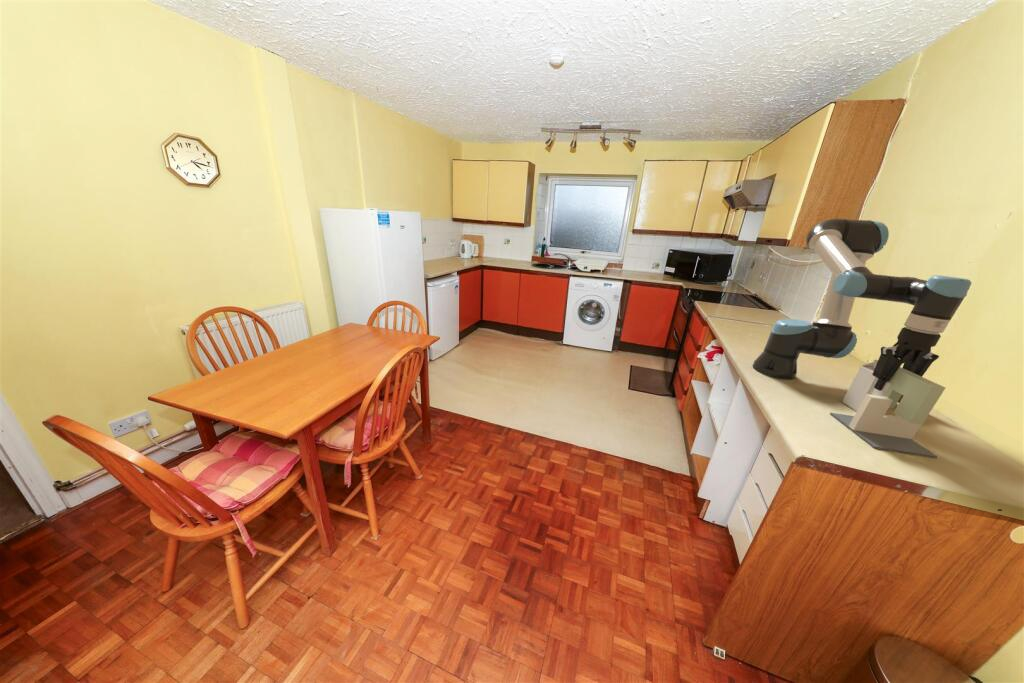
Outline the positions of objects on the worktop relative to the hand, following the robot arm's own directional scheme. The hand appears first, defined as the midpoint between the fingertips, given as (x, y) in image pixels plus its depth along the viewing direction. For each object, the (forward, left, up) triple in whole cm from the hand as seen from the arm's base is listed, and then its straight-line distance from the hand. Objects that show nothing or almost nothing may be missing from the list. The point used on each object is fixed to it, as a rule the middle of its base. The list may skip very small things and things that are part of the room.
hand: (882, 399), depth 103 cm
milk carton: (-13, +7, -10) cm, 18 cm away
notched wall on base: (+4, 0, -10) cm, 11 cm away
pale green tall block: (+5, 0, -1) cm, 5 cm away
